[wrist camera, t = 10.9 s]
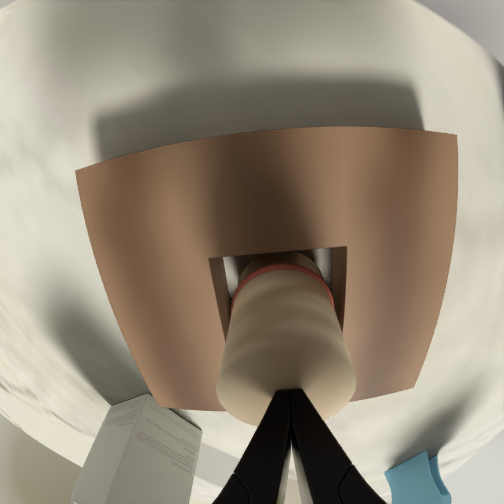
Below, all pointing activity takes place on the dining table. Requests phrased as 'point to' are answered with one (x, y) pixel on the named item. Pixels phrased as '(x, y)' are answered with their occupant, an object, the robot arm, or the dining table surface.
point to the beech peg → (283, 340)
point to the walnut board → (275, 244)
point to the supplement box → (140, 457)
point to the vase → (417, 482)
